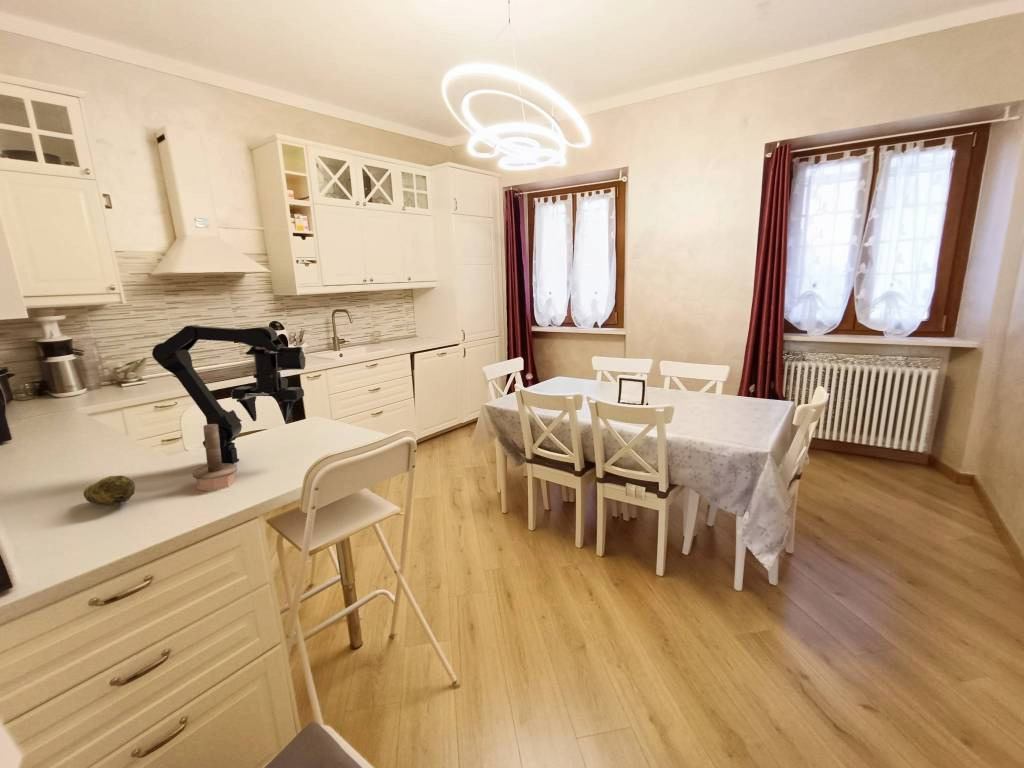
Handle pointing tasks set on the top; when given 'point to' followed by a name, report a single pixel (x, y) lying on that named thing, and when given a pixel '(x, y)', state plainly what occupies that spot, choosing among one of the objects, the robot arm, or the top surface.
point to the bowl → (216, 482)
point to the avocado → (110, 490)
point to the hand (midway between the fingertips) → (270, 421)
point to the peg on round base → (213, 456)
